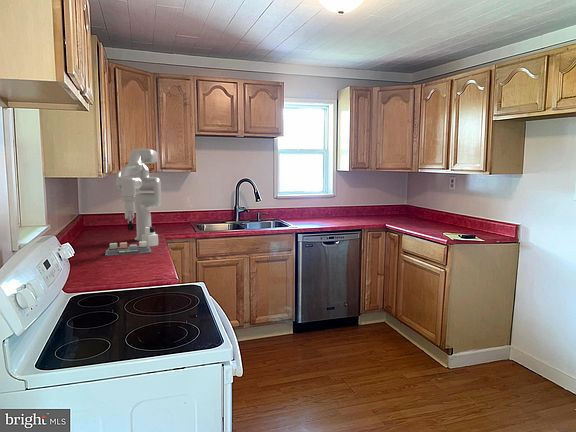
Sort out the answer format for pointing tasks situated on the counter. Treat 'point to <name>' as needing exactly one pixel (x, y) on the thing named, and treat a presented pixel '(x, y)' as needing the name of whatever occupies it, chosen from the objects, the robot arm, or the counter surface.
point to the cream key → (142, 243)
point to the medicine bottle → (150, 237)
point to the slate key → (133, 246)
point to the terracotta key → (123, 245)
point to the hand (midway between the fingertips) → (130, 230)
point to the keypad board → (127, 251)
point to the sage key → (113, 245)
